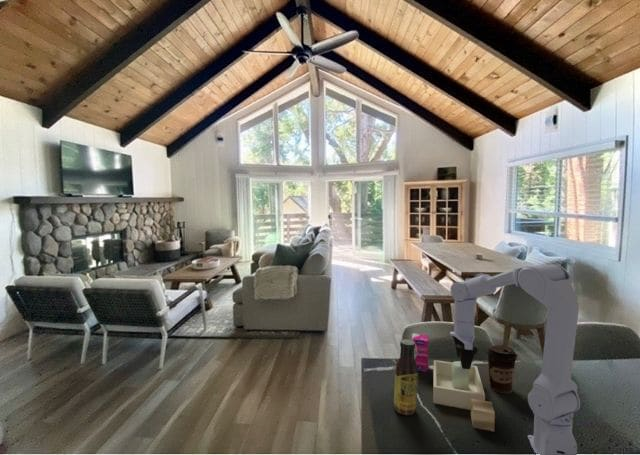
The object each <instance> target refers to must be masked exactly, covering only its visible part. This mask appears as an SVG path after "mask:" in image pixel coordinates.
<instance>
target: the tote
mask: <svg viewBox="0 0 640 455" xmlns="http://www.w3.org/2000/svg"><path fill="white" fill-rule="evenodd" d="M432 375H433V376H432V377H433V379H432V380H433V385H432V386H433V387H432V389H433V404H435V405H442V406H447V407H451V408H452V407H454V408H458V409H464V410H468V411H471V399H476V400H482V401H486V394H485V391H484V386H483V382H482V380H481V375H480V373H479V369H478V365H472V364H471V367H470V369H469V389H468V390H466V391H465V390H459V389H455V388H453V387H452V362H450V361H445V360H444V361H443V360H435V359H433V372H432Z"/></svg>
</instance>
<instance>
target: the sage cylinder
mask: <svg viewBox="0 0 640 455" xmlns="http://www.w3.org/2000/svg"><path fill="white" fill-rule="evenodd" d="M451 363H452V387H453V388H455V389H459V390H465V391H466V390H468V389H469V369H462V366H461V360H459V361H456V360H455V361H453V362H451Z"/></svg>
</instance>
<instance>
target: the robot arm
mask: <svg viewBox="0 0 640 455" xmlns="http://www.w3.org/2000/svg"><path fill="white" fill-rule="evenodd" d="M573 278H574V277H573V276H572V274H571V273H569V271H567V270H566V268H564V267H563V266H562V265H560V264H558V263H557V264H556V263H549V264H544V265H543V264H542V265H534V266H531V265H528V266H523V267H517V268H516V267H514V268H512V269H509V270H506V271H504V272H501V273H498V274H495V275H492V276H491V275H490V274H487V273H482V272H481V273H477V274H476V276H475V277H472V278H471V277H467V278H465V279H464V281H454V282H453V283H452V284H451V285H450V294H451V296H452V298H453V300H454V310H453V311H454V312H453V313H454V315H453V316H454V318H453V319H454V321H453V326H454V327H453V331H450V332H449V334H450V336H451V337H452V339H453V341H454V344H455V345H454V346H455V351H456V356H457V358H460V362H461V366H462V369H470V367H471V365H472V363H473V360H474V357H475V356H476V354H477V353H478V350H479V349H478V348H477V346H476V347H475V346H474V345H473V342H474V341H475V338H476V335H475V319H476V318H475V316H476V315H475V314H476V313H475V311H476V305H477V300H478V299H479V298H483V297H486V296H490V295H493V294H495V293H496V291H497V288H498V289H499V288H502V287H506V286H511V285H515V286H516V287H520V288H521V289H522V290H523V291H524V292H526V293H527V294H528V295H530V296H531V297H533V299H535V300H537V301H538V302H540V304H542V305H543V306H544V307H545V308H546V309H547V314H546V315H547V317H546V327H545V335H544V344H543V354H542V363H541V364H542V365H541V372H540V374H539V375H538V377H537V378H536V379H535V380H534V382H533V384H532V389H531V390H530V391H529V393H528V394H527V403H528V405H529V408H530V410H531V411H532V414H533V415H534V419H533V435H531V434H528V435H527V438H528V441H529V443H530V446H531V448H533V449H532V450H534V451H533V453H534V452H535V453H536V454H537V453H538V454H540V455H578V444H577V441H576V439H575V436H574V434H573V419H574V413H575V412H577V411H578V410H579V409H580V407H581V400H580V396H579V394H578V385H577V384H576V382H574V381H573V380H572V370H573V360H574V352H575V351H574V350H575V345H576V337H577V336H576V335H577V327H578V319H579V311H580V305H579V300H578V298H577V295H576V293H575V291H574V288H573ZM535 453H534V454H535Z"/></svg>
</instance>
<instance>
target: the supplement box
mask: <svg viewBox="0 0 640 455" xmlns="http://www.w3.org/2000/svg"><path fill="white" fill-rule="evenodd" d="M411 340H412V341H414V342H415V349H414V359H415V361H416V365H417V371H418V372H419V371H420V372H425V373H428V372H429V342H430V341H429V335H428V334H422V333H414V332H413V333H412V334H411Z"/></svg>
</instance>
